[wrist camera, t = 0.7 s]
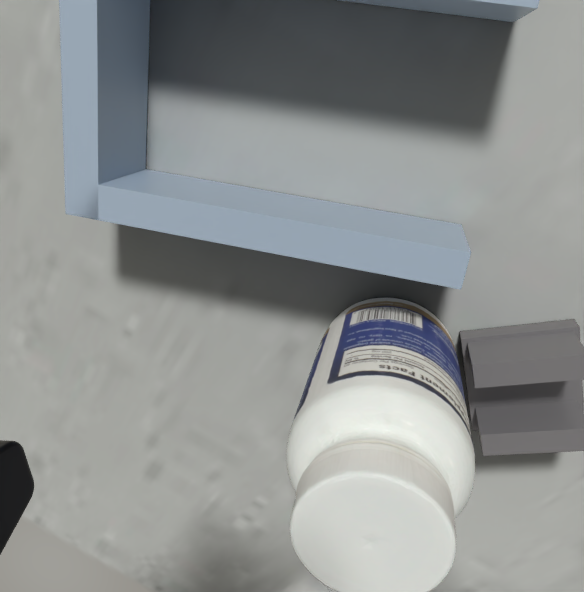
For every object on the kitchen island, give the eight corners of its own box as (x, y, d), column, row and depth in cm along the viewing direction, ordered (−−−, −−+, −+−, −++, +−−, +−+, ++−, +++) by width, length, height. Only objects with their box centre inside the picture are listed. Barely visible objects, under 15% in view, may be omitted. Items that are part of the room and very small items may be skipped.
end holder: (524, -22, 16) (552, -47, 13) (452, 256, 20) (460, 289, 17) (118, -69, 18) (56, -100, 15) (116, 194, 22) (65, 213, 19)
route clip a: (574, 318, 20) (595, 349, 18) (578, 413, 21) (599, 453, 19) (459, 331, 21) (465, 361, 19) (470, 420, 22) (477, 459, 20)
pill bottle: (387, 436, 23) (372, 656, 14) (294, 353, 23) (219, 527, 14) (487, 359, 21) (542, 560, 12) (387, 265, 21) (368, 405, 12)
